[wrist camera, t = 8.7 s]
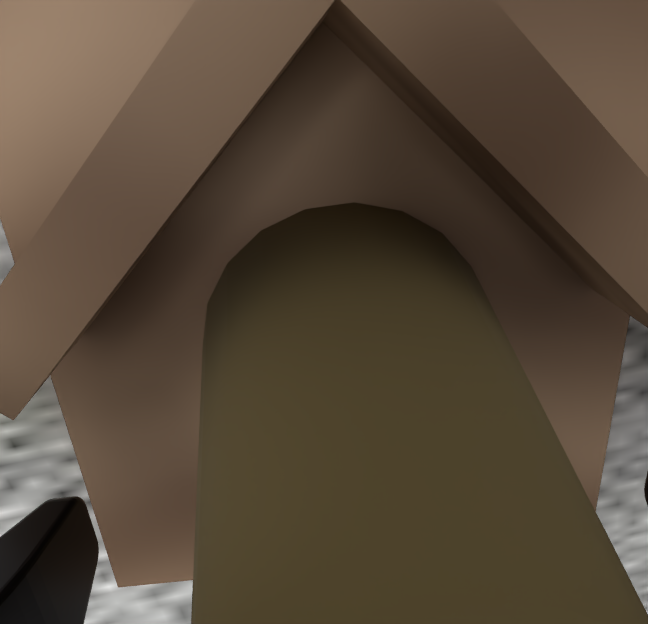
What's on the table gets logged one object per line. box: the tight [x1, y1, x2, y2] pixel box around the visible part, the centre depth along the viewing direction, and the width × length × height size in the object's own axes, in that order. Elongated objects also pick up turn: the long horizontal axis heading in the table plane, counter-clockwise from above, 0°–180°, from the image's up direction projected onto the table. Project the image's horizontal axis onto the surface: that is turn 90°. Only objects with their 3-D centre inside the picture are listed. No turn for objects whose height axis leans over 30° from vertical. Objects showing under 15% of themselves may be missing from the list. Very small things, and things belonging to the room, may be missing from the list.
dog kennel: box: [0, 0, 648, 587], centre depth 10 cm, size 15×12×4 cm
